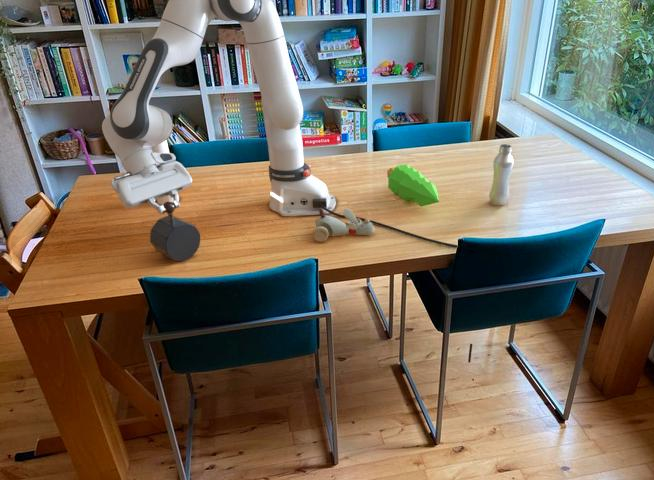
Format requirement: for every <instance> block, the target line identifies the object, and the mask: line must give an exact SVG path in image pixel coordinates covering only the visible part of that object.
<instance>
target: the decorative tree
mask: <svg viewBox="0 0 654 480" xmlns="http://www.w3.org/2000/svg"><path fill="white" fill-rule="evenodd" d="M386 171H387V172H386V174H387V175H386V177H387V178H388V181H387V182H388V183H387V184H388V185H387V187H388V189H389V190H390V191H391V192H392V193H393V194H395V195H397V196H398V197H399V198H400V199H402V200H403V201H404V202H405V203H411V202H412V203H415V204H417V205H418V206H419V207H421V208H422V207H425V206H430V205H434V204H436V203H440V199H439V198H440V197H439V193H438V190H437V186H436V185H435V184H434V183H432V181H429V180H428V179H427V178H426V177H425V176H424V175H423V174H422V173H421V172H420V171H417V170H416V169H415V168H414V167H411V166H410V165H409V164H408V163H405V164H400V165H396V166H395V167H390V168H389V169H388V170H386Z"/></svg>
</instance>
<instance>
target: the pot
mask: <svg viewBox="0 0 654 480" xmlns="http://www.w3.org/2000/svg"><path fill="white" fill-rule="evenodd" d="M163 206H164V208H165V209H166V212H165V214H167V215H166V216H163V217H161V218H159V219H157V220H156V221H155V223H154V224H153V226H151V229H150V237H149V238H150V239H149V242H150V244H151V245H152V247H153V249H154V250H155V251H157V252H158V253H160V254H161V255H163V256H165V257H167V258H169V259H170V260H173V261H176V262H177V261H178V262H184V261H187V260H189V259H191V258H192V257H194V255H195V254H196V253H197V251H198V250H199V248H200V244H201V234H200V231H199V230H198V228H197V226H196V225H194V224H192V223H190V222H188V221H187V220H184V219H182V218H180V217H178V216H175V215H174V212H175V210H176V209H175V205H174V204H173V203H172V202H165V203H164V204H163Z"/></svg>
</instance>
